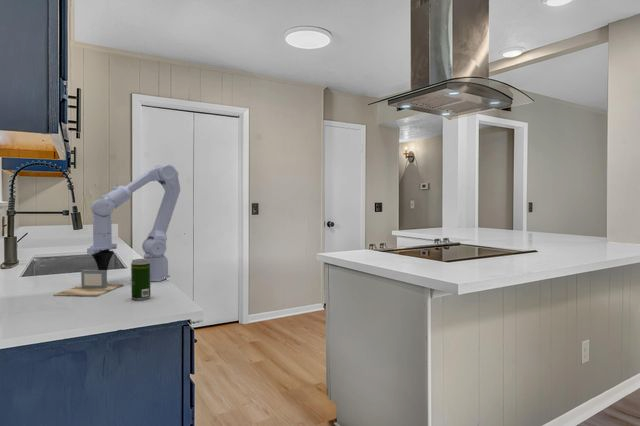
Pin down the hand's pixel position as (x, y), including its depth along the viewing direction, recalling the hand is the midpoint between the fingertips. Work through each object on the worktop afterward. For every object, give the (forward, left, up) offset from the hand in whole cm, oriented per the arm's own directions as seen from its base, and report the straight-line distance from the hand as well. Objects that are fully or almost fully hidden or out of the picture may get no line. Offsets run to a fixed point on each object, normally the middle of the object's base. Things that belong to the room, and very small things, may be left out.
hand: (103, 271), depth 142 cm
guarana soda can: (+16, +22, -5) cm, 28 cm away
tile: (+5, 0, -4) cm, 7 cm away
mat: (+7, 0, -5) cm, 9 cm away
